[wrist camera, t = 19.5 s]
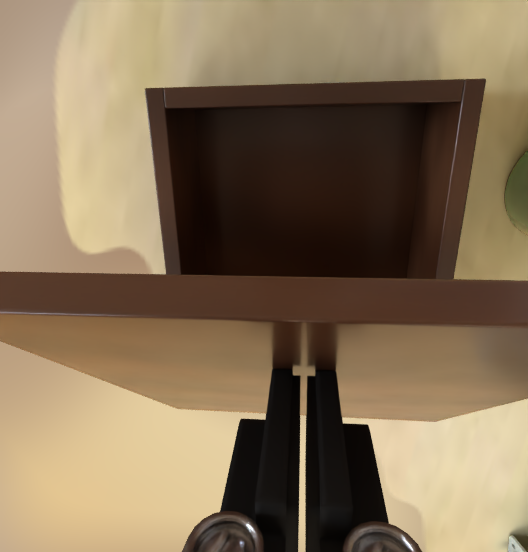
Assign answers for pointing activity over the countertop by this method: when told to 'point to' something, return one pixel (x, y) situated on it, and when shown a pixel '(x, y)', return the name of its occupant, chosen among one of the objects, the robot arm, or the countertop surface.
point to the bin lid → (280, 338)
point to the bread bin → (314, 177)
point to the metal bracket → (515, 545)
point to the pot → (518, 194)
